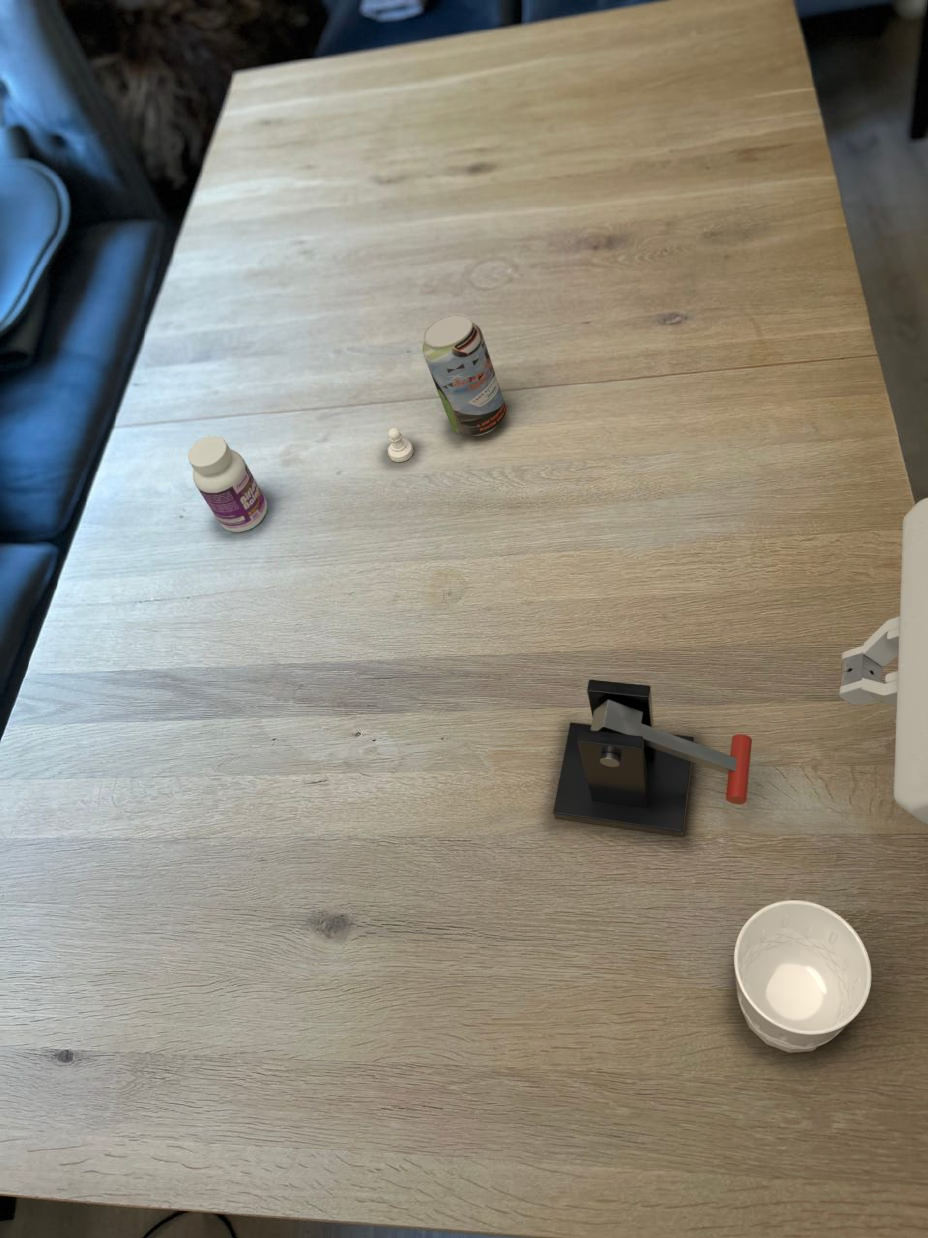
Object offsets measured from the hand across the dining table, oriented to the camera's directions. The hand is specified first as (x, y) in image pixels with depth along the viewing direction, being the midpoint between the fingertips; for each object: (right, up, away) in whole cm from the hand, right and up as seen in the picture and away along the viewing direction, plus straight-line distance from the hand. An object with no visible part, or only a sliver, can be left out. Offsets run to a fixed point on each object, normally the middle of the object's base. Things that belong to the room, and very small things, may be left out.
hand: (846, 680), depth 60 cm
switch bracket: (-10, -9, +19) cm, 23 cm away
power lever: (-9, -6, +12) cm, 16 cm away
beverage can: (-22, +24, +44) cm, 55 cm away
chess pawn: (-30, +21, +43) cm, 57 cm away
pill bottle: (-46, +15, +43) cm, 65 cm away
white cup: (-1, -23, +8) cm, 24 cm away
